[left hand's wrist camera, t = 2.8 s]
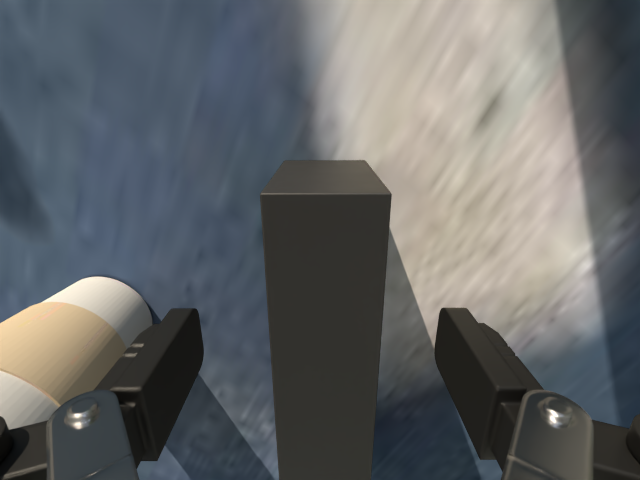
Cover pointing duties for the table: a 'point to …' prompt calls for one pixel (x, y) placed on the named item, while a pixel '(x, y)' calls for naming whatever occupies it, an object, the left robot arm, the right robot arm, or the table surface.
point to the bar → (325, 313)
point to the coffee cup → (65, 346)
